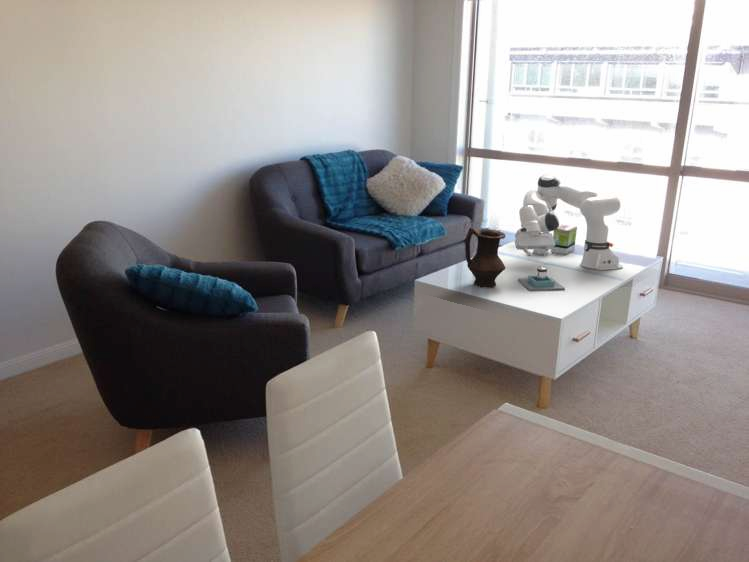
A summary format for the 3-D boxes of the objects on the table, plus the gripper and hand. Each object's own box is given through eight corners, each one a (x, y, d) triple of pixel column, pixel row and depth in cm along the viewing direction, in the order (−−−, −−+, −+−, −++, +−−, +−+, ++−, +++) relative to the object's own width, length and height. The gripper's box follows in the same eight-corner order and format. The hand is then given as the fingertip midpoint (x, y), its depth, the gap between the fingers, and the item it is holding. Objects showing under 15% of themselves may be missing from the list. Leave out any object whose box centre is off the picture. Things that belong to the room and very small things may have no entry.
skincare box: (547, 254, 389) (550, 230, 384) (538, 254, 387) (540, 230, 383) (541, 251, 396) (543, 227, 392) (532, 251, 395) (534, 227, 391)
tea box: (567, 254, 389) (569, 230, 384) (550, 252, 394) (553, 228, 390) (574, 249, 401) (577, 225, 397) (558, 247, 406) (561, 223, 402)
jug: (493, 278, 340) (497, 221, 331) (510, 288, 323) (514, 229, 314) (456, 280, 335) (459, 223, 326) (470, 291, 318) (474, 231, 309)
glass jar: (543, 281, 332) (545, 266, 329) (547, 284, 327) (549, 269, 324) (534, 281, 331) (535, 266, 329) (537, 284, 326) (539, 269, 324)
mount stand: (551, 279, 339) (551, 273, 338) (564, 290, 322) (565, 283, 321) (517, 280, 337) (517, 273, 336) (529, 291, 320) (529, 284, 319)
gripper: (549, 235, 341) (555, 258, 334) (511, 236, 338) (516, 259, 331) (553, 228, 335) (559, 251, 328) (515, 229, 332) (520, 252, 326)
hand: (537, 255), depth 330 cm, fingers open, 8 cm apart
